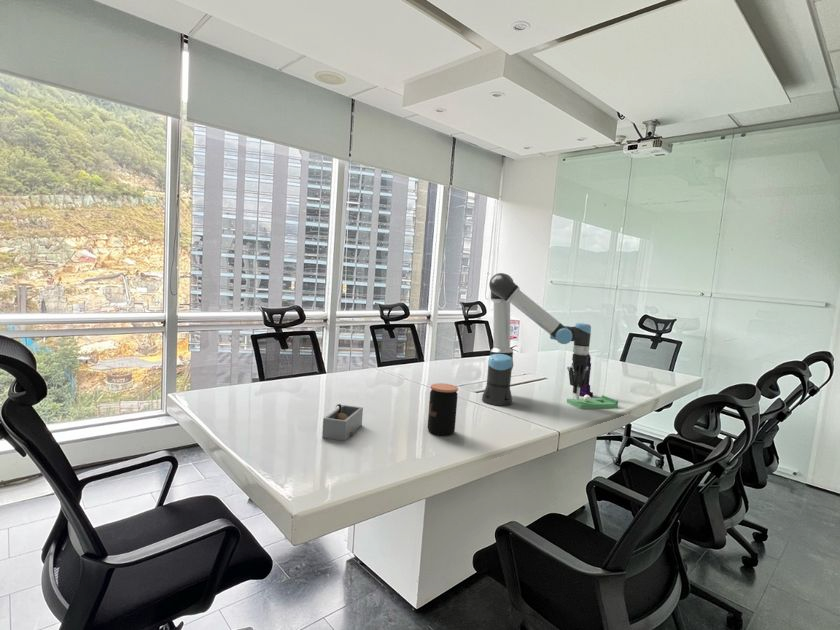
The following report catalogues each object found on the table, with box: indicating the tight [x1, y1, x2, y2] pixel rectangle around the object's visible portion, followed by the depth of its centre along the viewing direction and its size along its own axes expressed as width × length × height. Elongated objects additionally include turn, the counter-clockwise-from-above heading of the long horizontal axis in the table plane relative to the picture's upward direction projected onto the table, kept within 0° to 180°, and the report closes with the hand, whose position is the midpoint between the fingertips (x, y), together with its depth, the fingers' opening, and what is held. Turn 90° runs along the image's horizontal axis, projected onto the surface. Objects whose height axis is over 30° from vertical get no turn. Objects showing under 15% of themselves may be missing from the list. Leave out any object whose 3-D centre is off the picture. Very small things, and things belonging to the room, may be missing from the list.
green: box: [566, 394, 619, 410], centre depth 233 cm, size 23×11×4 cm, turn 108°
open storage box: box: [321, 404, 364, 442], centre depth 168 cm, size 8×18×7 cm, turn 168°
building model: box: [572, 353, 594, 398], centre depth 253 cm, size 9×6×30 cm
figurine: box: [335, 403, 354, 436], centre depth 168 cm, size 14×4×9 cm, turn 30°
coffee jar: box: [427, 382, 459, 437], centre depth 175 cm, size 11×11×18 cm
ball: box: [582, 395, 592, 402], centre depth 232 cm, size 4×4×4 cm
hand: (576, 399), depth 230 cm, fingers closed
